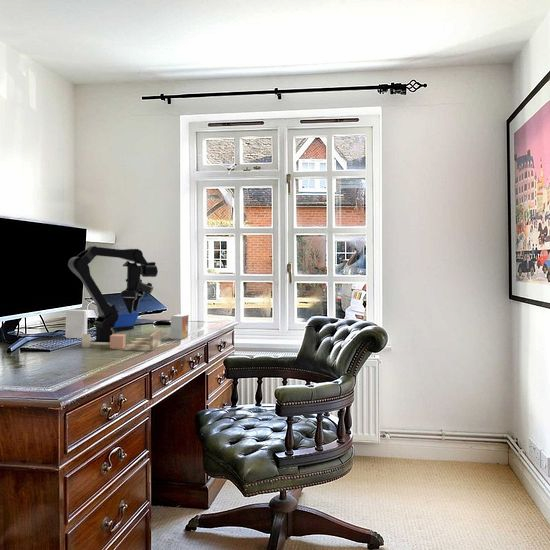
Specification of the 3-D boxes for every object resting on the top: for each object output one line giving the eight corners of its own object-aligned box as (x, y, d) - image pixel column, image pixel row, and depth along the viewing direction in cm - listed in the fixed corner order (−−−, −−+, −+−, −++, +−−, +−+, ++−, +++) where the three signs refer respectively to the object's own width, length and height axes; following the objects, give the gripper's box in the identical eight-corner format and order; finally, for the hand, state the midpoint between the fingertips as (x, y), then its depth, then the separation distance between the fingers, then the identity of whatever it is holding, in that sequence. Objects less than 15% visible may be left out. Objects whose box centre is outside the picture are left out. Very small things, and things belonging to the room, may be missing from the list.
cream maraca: (80, 347, 200) (80, 335, 200) (83, 345, 205) (84, 333, 205) (122, 348, 202) (123, 336, 202) (125, 346, 207) (125, 334, 207)
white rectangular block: (90, 336, 231) (91, 309, 230) (81, 339, 222) (81, 311, 221) (71, 335, 232) (72, 308, 231) (61, 338, 223) (61, 310, 222)
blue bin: (122, 327, 263) (123, 309, 262) (139, 330, 255) (140, 311, 255) (96, 330, 250) (96, 311, 250) (113, 333, 242) (114, 314, 242)
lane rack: (125, 350, 199) (125, 334, 199) (135, 342, 216) (136, 328, 216) (152, 350, 200) (153, 335, 199) (160, 343, 217) (161, 329, 217)
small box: (181, 339, 229) (182, 316, 229) (170, 338, 230) (170, 315, 230) (188, 337, 237) (188, 314, 236) (176, 336, 238) (177, 314, 237)
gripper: (147, 278, 217) (146, 314, 217) (156, 276, 235) (155, 310, 236) (121, 277, 216) (120, 314, 217) (131, 276, 235) (130, 309, 235)
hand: (132, 311), depth 226 cm, fingers open, 9 cm apart
